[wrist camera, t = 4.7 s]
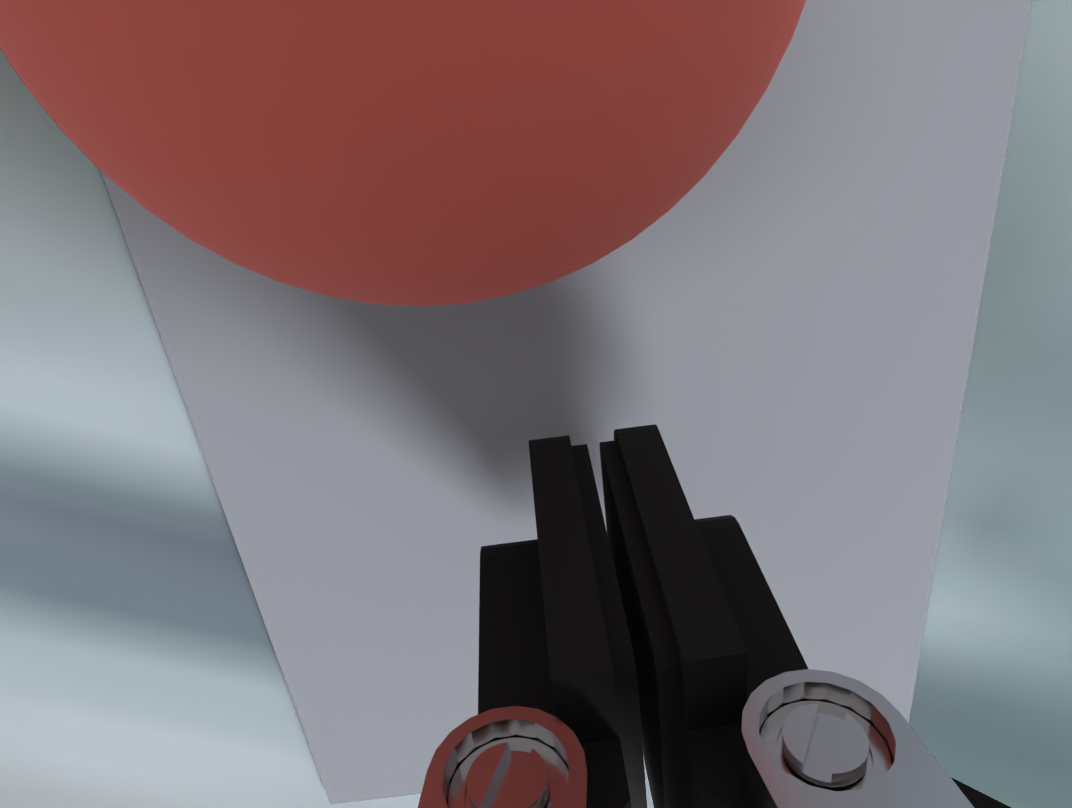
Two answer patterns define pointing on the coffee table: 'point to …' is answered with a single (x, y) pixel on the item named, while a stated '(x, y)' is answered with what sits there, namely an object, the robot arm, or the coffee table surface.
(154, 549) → the coffee table surface
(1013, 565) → the coffee table surface
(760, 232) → the lane
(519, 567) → the robot arm
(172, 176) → the ball
